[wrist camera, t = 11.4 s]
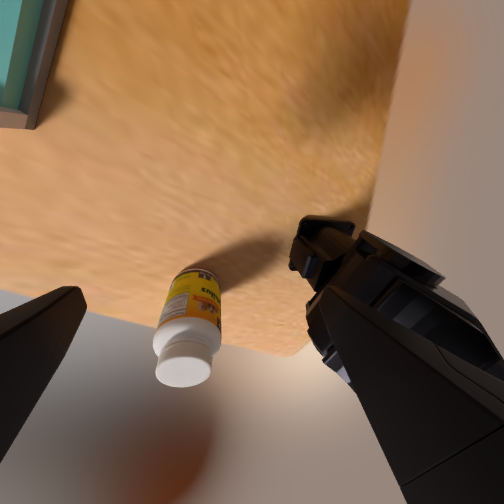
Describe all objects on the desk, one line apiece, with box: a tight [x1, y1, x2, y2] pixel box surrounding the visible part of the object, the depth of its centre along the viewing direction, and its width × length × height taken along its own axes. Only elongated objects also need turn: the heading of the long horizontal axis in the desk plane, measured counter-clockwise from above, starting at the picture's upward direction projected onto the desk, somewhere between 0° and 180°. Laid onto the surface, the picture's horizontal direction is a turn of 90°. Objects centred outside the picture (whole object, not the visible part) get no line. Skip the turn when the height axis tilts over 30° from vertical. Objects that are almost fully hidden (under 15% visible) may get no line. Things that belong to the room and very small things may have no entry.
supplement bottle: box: [153, 268, 221, 387], centre depth 19 cm, size 6×6×10 cm
